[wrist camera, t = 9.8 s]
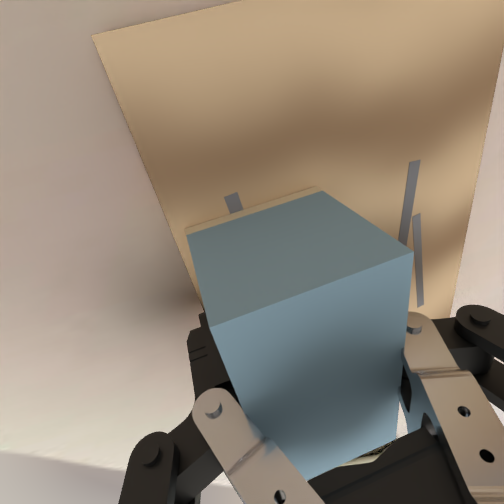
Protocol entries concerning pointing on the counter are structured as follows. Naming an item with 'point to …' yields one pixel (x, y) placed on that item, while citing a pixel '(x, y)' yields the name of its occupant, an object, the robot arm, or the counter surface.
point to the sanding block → (308, 323)
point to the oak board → (318, 115)
